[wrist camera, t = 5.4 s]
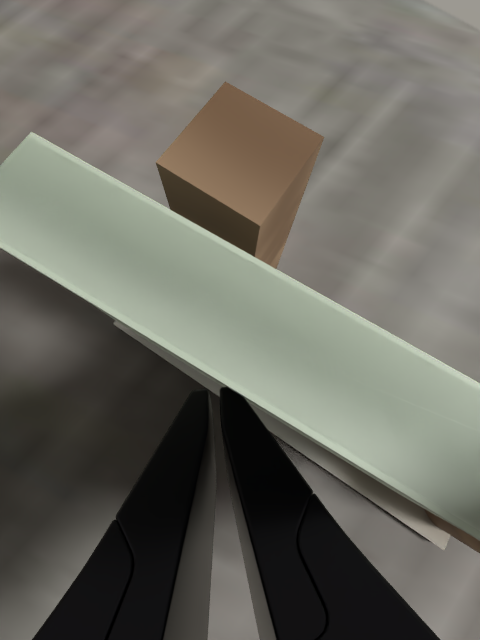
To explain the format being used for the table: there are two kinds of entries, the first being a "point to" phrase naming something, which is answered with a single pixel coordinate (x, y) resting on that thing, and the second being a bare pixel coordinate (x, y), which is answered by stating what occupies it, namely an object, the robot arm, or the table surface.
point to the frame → (263, 240)
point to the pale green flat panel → (249, 328)
